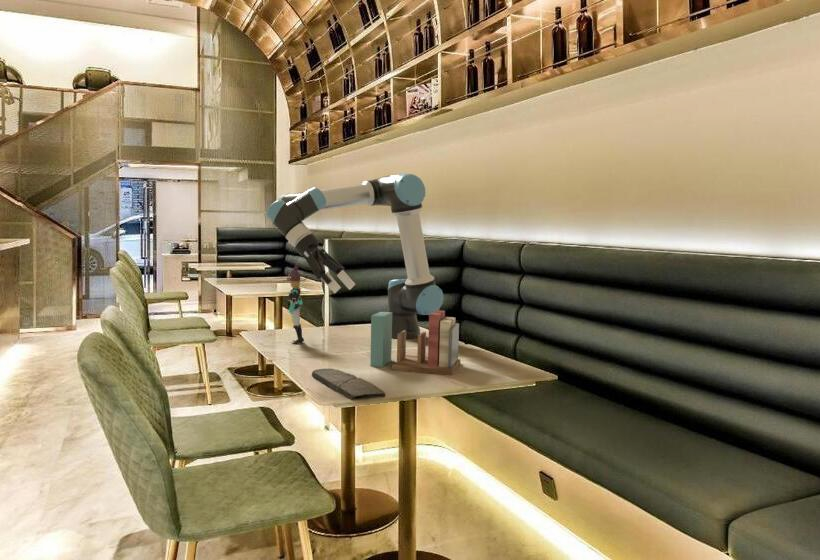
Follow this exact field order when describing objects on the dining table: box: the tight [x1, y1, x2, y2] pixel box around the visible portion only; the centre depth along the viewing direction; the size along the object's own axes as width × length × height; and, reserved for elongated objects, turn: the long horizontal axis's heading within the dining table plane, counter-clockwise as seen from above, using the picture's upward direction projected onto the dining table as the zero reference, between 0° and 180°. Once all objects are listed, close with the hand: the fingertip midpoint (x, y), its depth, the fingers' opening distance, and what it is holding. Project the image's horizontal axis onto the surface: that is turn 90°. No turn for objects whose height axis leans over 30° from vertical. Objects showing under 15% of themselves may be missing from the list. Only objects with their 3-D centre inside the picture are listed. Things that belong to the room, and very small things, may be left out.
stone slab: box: [311, 368, 386, 401], centre depth 169 cm, size 10×3×30 cm
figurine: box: [281, 262, 308, 345], centre depth 226 cm, size 20×9×30 cm, turn 2°
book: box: [369, 311, 393, 368], centre depth 197 cm, size 10×4×16 cm, turn 166°
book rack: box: [391, 309, 461, 376], centre depth 193 cm, size 16×18×18 cm
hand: (345, 288), depth 198 cm, fingers open, 13 cm apart
